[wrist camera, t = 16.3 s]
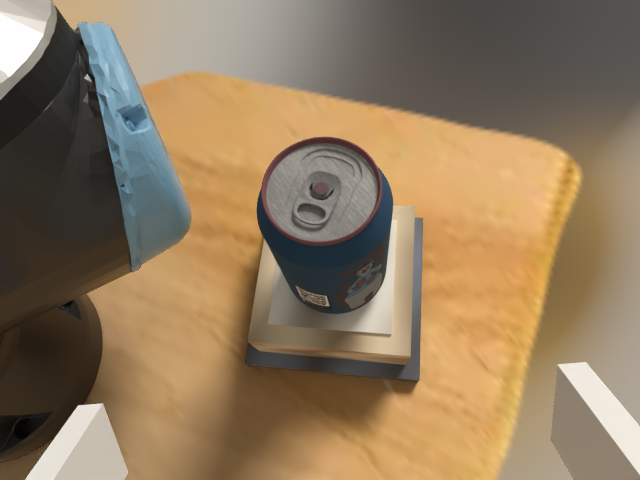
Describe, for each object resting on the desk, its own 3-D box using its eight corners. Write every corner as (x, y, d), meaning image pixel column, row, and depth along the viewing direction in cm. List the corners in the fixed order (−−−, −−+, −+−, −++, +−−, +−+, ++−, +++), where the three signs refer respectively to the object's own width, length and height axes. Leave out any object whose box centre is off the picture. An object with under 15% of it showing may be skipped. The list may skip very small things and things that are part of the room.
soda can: (309, 214, 34) (282, 111, 23) (398, 242, 33) (414, 146, 22) (272, 299, 32) (223, 228, 21) (367, 333, 31) (367, 276, 20)
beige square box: (248, 365, 36) (229, 354, 31) (272, 214, 41) (259, 185, 36) (418, 381, 34) (426, 373, 29) (421, 223, 39) (429, 193, 34)
